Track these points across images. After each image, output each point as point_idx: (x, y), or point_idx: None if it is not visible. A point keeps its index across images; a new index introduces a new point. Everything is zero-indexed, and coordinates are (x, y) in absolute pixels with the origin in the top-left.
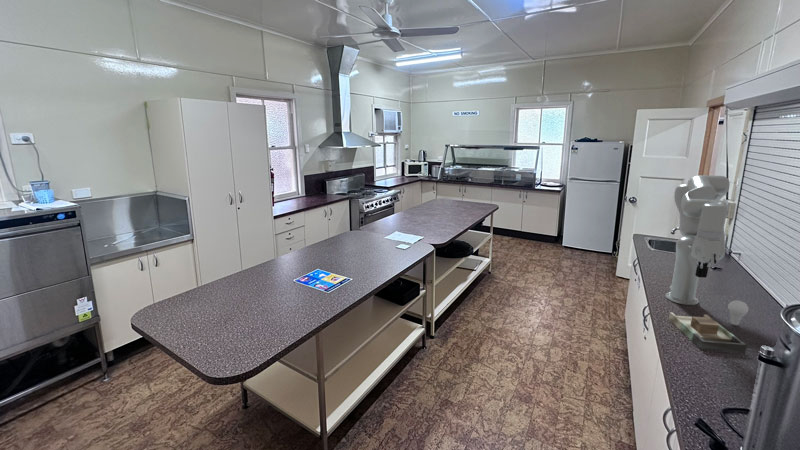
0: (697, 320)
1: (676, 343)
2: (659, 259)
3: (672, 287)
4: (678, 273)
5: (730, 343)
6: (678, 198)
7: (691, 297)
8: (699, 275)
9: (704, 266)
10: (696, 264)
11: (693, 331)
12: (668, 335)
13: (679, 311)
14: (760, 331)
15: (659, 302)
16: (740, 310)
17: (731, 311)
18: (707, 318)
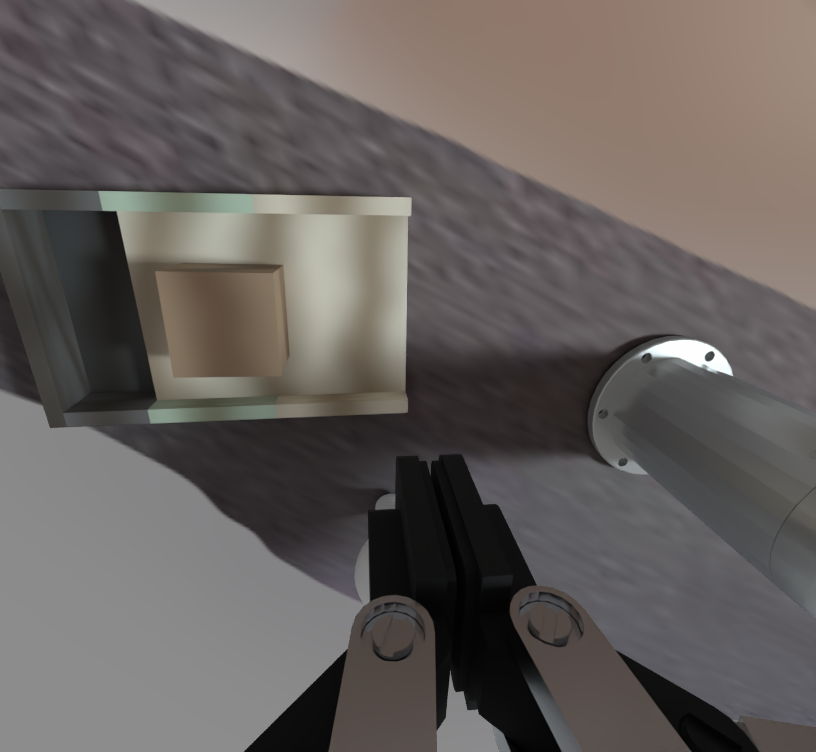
0: (212, 277)
1: (51, 63)
2: None
3: (729, 379)
4: None
5: (29, 352)
6: None
7: (626, 441)
8: (398, 490)
9: (308, 722)
10: (588, 614)
11: (125, 205)
12: (161, 68)
13: (516, 323)
14: (345, 564)
15: (630, 265)
16: (356, 567)
17: None
18: (267, 360)
